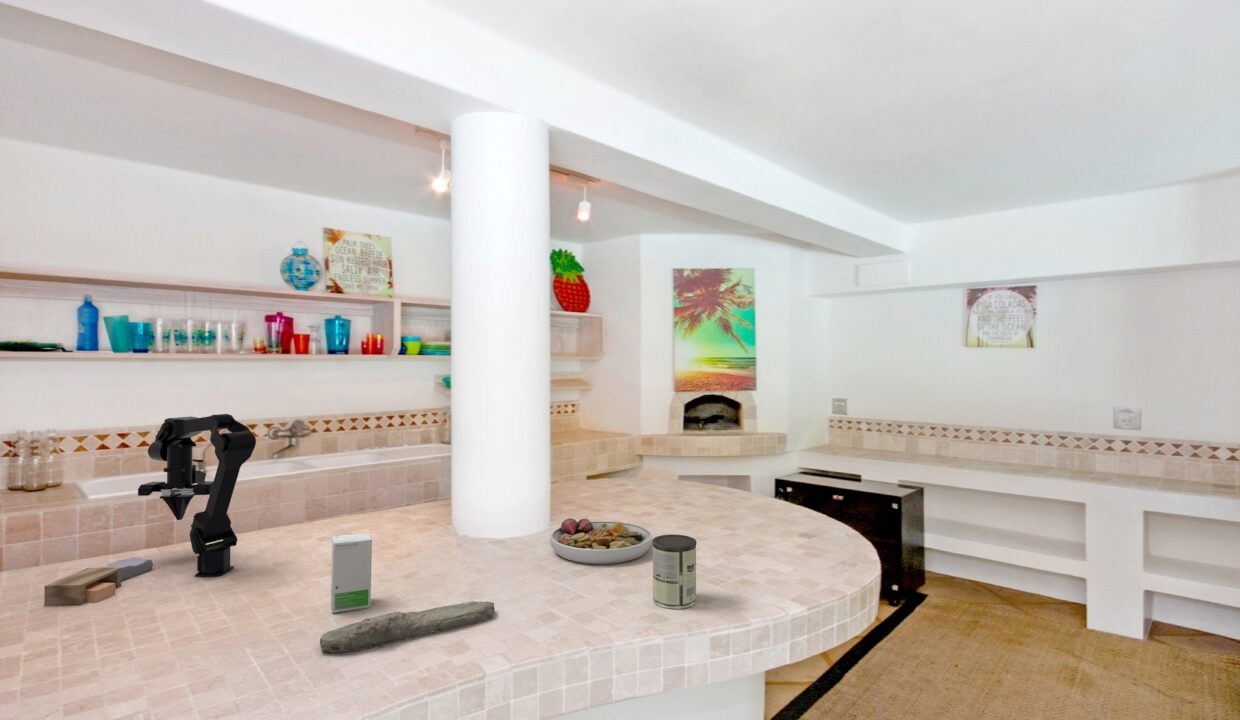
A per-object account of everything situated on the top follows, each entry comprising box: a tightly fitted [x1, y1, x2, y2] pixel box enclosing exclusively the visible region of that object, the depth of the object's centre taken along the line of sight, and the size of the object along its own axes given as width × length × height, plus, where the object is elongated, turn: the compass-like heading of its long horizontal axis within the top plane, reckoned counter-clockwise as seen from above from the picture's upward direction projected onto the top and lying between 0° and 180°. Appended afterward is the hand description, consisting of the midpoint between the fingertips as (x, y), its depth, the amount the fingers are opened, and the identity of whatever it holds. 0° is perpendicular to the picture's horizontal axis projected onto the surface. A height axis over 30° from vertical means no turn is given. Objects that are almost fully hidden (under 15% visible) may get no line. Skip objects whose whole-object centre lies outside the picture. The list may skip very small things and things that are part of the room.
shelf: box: [43, 567, 122, 607], centre depth 146 cm, size 8×12×4 cm, turn 3°
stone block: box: [97, 556, 154, 582], centre depth 159 cm, size 12×5×10 cm
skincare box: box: [330, 533, 373, 614], centre depth 140 cm, size 8×7×16 cm
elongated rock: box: [319, 600, 496, 653], centre depth 127 cm, size 35×5×10 cm
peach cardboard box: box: [86, 583, 116, 604], centre depth 144 cm, size 8×5×3 cm, turn 86°
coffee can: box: [651, 534, 697, 610], centre depth 143 cm, size 10×10×14 cm
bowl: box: [549, 517, 653, 565], centre depth 181 cm, size 30×30×8 cm
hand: (179, 519), depth 169 cm, fingers closed
